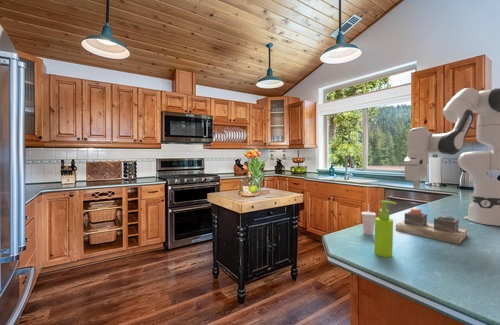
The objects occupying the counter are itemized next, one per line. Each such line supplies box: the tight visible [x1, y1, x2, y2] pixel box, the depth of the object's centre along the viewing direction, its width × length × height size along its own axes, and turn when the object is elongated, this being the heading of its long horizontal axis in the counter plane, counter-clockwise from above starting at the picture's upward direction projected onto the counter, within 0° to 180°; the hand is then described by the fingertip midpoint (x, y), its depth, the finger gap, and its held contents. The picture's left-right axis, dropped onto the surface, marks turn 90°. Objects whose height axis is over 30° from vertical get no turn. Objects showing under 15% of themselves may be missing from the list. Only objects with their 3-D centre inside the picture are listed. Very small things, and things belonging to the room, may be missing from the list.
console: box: [395, 210, 468, 245], centre depth 117 cm, size 16×24×8 cm, turn 39°
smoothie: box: [360, 203, 377, 236], centre depth 115 cm, size 6×6×14 cm
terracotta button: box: [410, 207, 422, 216], centre depth 121 cm, size 4×4×4 cm
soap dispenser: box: [373, 200, 397, 258], centre depth 91 cm, size 6×7×20 cm
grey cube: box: [439, 215, 454, 221], centre depth 112 cm, size 4×4×4 cm
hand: (416, 188), depth 121 cm, fingers closed
